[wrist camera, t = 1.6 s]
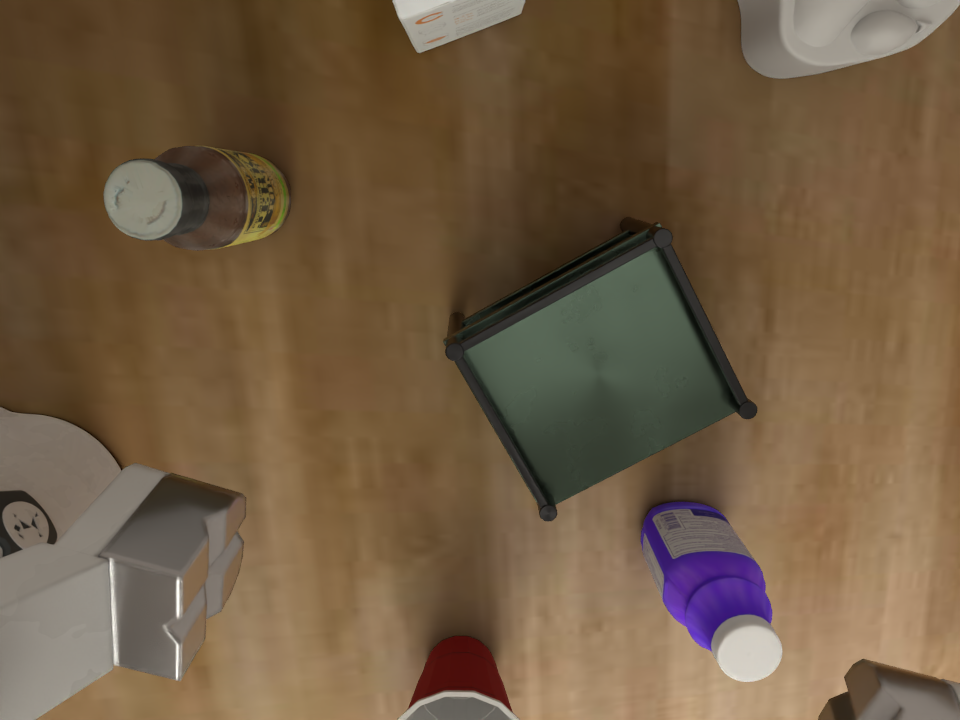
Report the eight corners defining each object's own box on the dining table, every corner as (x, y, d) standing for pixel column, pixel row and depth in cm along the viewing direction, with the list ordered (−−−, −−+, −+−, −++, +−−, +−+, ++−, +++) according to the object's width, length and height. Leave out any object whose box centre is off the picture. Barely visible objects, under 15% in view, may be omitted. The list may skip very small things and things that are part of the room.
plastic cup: (511, 596, 67) (520, 687, 55) (532, 704, 69) (545, 813, 57) (385, 617, 67) (368, 712, 55) (411, 724, 69) (399, 837, 58)
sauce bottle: (307, 223, 59) (228, 251, 39) (229, 248, 59) (112, 288, 40) (276, 138, 57) (178, 124, 38) (196, 164, 58) (59, 164, 38)
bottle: (633, 558, 66) (689, 694, 49) (637, 496, 64) (698, 613, 48) (719, 560, 66) (805, 696, 49) (725, 497, 65) (816, 615, 48)
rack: (531, 464, 64) (544, 524, 53) (446, 316, 61) (442, 348, 50) (710, 371, 62) (760, 413, 51) (631, 214, 59) (667, 224, 48)
